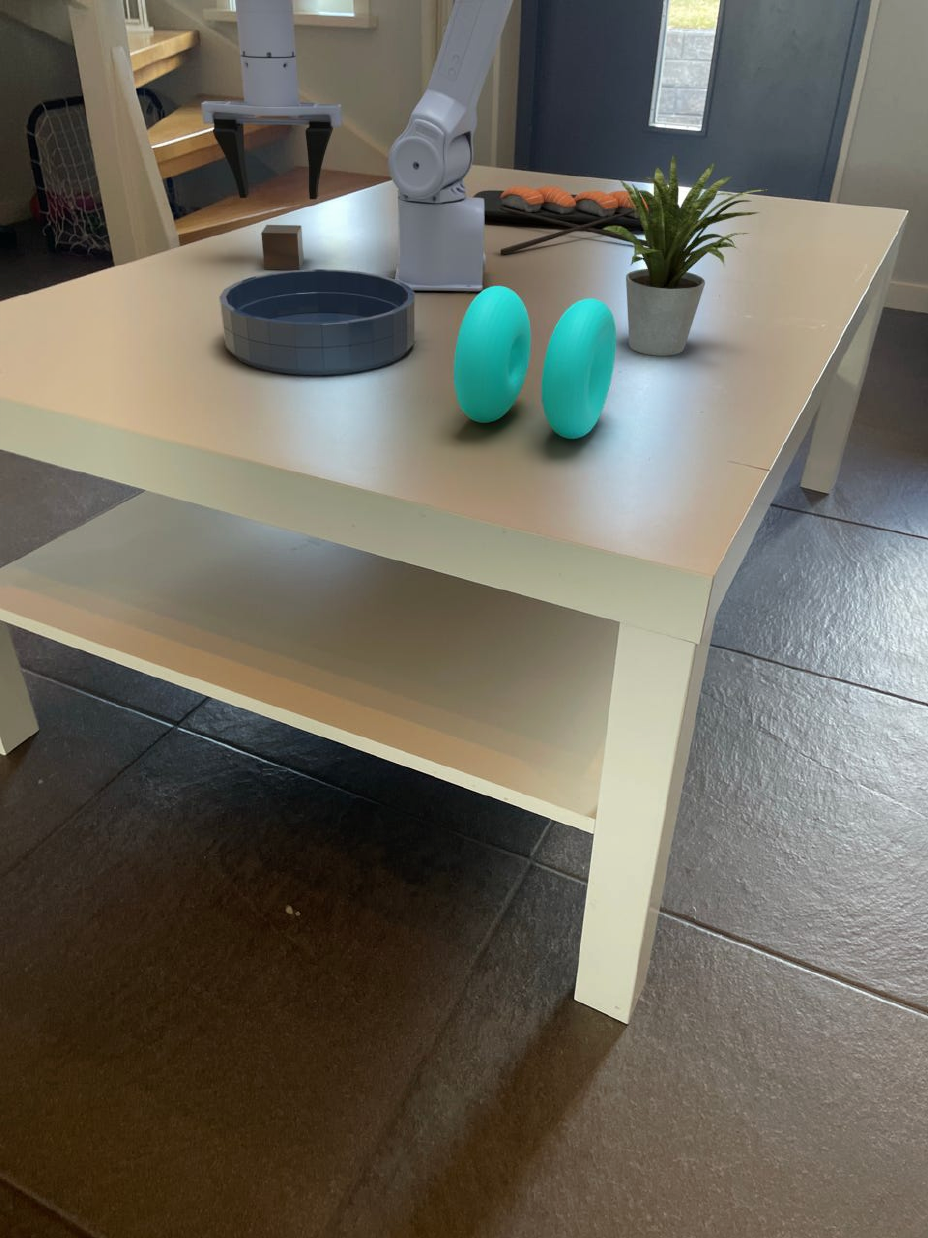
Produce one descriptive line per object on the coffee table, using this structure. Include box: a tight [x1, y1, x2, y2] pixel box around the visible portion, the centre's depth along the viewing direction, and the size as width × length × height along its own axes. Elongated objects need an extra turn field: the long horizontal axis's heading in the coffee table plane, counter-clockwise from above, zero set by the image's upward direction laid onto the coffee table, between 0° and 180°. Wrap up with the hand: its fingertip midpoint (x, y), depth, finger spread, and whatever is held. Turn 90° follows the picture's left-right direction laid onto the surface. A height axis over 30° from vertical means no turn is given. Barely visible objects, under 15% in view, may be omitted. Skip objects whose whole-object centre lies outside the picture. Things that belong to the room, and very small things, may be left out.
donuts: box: [453, 285, 617, 440], centre depth 72 cm, size 10×10×10 cm
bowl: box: [218, 268, 416, 376], centre depth 89 cm, size 17×17×4 cm
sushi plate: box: [472, 186, 681, 255], centre depth 129 cm, size 29×30×4 cm
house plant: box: [602, 154, 771, 357], centre depth 86 cm, size 14×14×16 cm
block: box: [260, 224, 305, 271], centre depth 111 cm, size 4×4×4 cm
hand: (279, 196), depth 108 cm, fingers open, 7 cm apart
